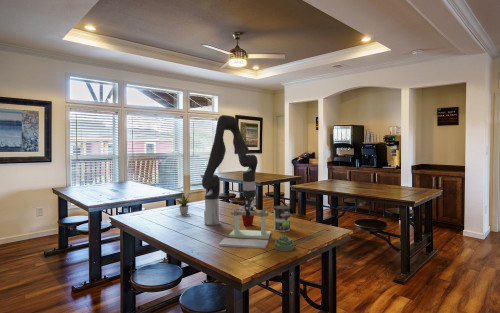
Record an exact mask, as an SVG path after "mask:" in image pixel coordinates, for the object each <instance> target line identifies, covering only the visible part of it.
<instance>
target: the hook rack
mask: <svg viewBox="0 0 500 313" xmlns="http://www.w3.org/2000/svg"><path fill="white" fill-rule="evenodd" d="M233 211H234V215H233V230H232V231H231V232H230V233H228V238H236V239H255V240H269V238H270V237H271V233H272V231H270V230H267V225H266V224H267V220H266V219H267V218H266V217H267V216H264V212H267V211H266V209H261V216H260V230H254V229H253V230H252V229H240V215H237V211H240V208H235V209H234V210H233Z"/></svg>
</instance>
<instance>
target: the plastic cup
mask: <svg viewBox="0 0 500 313" xmlns="http://www.w3.org/2000/svg"><path fill="white" fill-rule="evenodd" d="M253 207H254V208H253V211H256V209H257V207H256V206H255V205H254V206H253ZM247 209H248V208H247ZM239 211H245V205H242V206H240V207H239ZM254 216H255V215H250V218H246V215H241V218H242V223H243V226H244V227H252V226H253V224H254Z"/></svg>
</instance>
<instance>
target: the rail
mask: <svg viewBox="0 0 500 313" xmlns="http://www.w3.org/2000/svg"><path fill="white" fill-rule="evenodd" d="M261 211H262V210H261ZM261 211H258V210H257V211H256V210H255V211H250V215H254V216H260V217H261ZM230 215H232V216H234V210H231V211H230ZM237 215H239V216H242V215H246V211H241V210H239V211H237ZM264 216H266V217H269V211H266V212H264Z"/></svg>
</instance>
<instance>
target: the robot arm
mask: <svg viewBox="0 0 500 313" xmlns="http://www.w3.org/2000/svg"><path fill="white" fill-rule="evenodd" d="M215 128H216V129H215V133H214V138H213V144H212V147H211V149H210V154H209V159H208V162H207V164H206V168H205V171H204V173H203V176H202V180H201V186H202V188H203V189H205V190H208V192H207V193H205V195H204V205H205V206H204V208H205V209H203V210H204V212H203V213H204V214H203V215H204V216H203V217H204V225H206V226H216V225H217V226H218V225H220V201H219V198H220V197H219V196H220V192H221V191H220V190H221V189H220V188H221V181H220V177H219V176H218V175H216V174H215V172H216V170H217V169H218V168H219V166H220V165H221V164H222V162H223V160H224V158H225V155H226V152H227V148H226V144H225V141H224V140H225V139H224V134H225V131H230V132H231V134H232V135H233V136H232V137H233V139H232V144H233V147H234V149H235V151H236V153H237V156H238V161H239V165H240V166H242V167H243V168H247V170H245V171H243V173H242V197H243V198H245V200H244V206H245V211H246V218H250V211H253V208H254V207H255V198H256V196H257V193H256V189H257V188H256V171H257V167H258V158H257V156H256V155H255V154H248V153H249V151H250V150H249V147H248V144H246V142H245V139H244V138H243V135H242V132H241V129H240V126H239V123H238V121H237V118H235V116H233V115H226V114H221V115H220V116H219V117H218V119H217V123H216V126H215ZM253 206H254V207H253ZM247 208H248V209H247Z"/></svg>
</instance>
